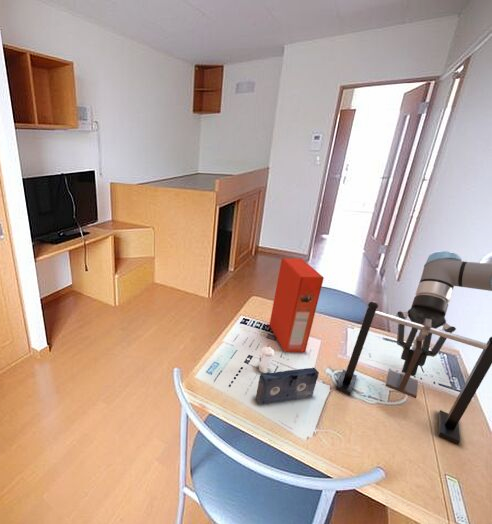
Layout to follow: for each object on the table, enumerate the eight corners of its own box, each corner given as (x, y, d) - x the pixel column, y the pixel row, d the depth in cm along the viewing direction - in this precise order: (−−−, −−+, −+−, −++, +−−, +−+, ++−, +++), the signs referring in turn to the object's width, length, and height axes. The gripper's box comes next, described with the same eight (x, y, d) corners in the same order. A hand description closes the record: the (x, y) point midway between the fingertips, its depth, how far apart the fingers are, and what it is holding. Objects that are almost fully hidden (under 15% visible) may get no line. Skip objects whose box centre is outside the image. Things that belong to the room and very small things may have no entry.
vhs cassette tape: (307, 391, 99) (314, 366, 95) (313, 398, 96) (320, 373, 92) (254, 397, 96) (259, 372, 92) (258, 404, 94) (264, 379, 90)
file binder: (283, 351, 117) (300, 276, 104) (268, 326, 132) (281, 258, 120) (305, 352, 116) (324, 277, 104) (287, 326, 132) (302, 258, 120)
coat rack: (456, 421, 88) (507, 331, 76) (458, 445, 82) (514, 350, 69) (342, 373, 106) (368, 293, 94) (335, 389, 99) (363, 306, 87)
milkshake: (259, 362, 111) (263, 339, 107) (272, 370, 107) (278, 347, 103) (252, 368, 108) (256, 345, 104) (266, 376, 105) (271, 353, 101)
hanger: (416, 382, 92) (445, 321, 83) (415, 398, 86) (446, 334, 78) (388, 371, 96) (412, 311, 87) (385, 386, 90) (411, 323, 82)
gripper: (460, 312, 89) (438, 388, 84) (398, 296, 98) (376, 364, 93) (469, 303, 83) (446, 384, 78) (403, 287, 92) (379, 358, 87)
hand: (408, 373), depth 85 cm, fingers closed on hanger
